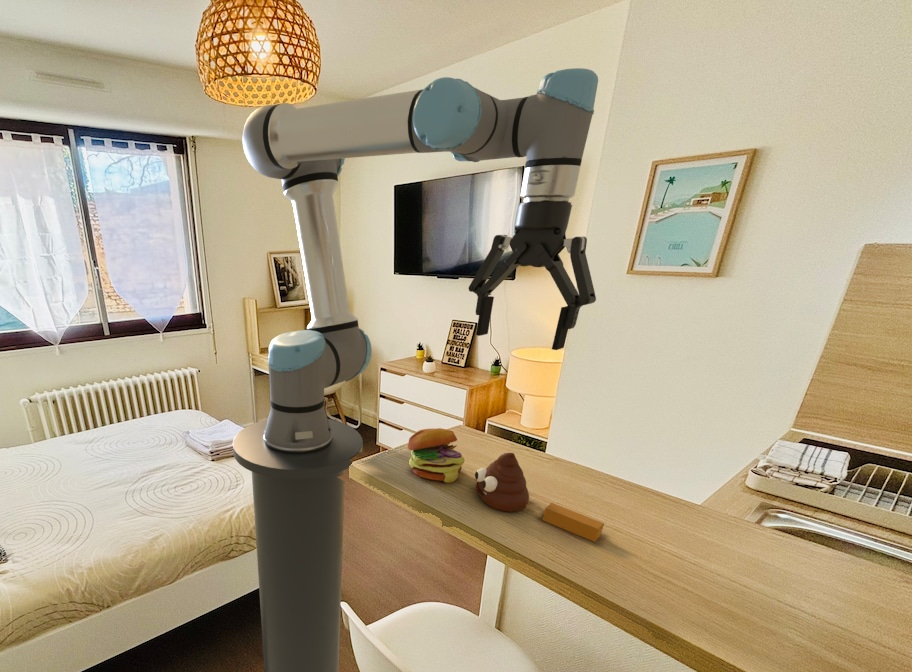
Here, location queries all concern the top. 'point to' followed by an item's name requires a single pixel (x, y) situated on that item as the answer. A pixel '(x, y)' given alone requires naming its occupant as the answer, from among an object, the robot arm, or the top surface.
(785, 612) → the top surface
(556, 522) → the ochre stick
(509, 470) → the poop emoji
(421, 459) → the cheeseburger
